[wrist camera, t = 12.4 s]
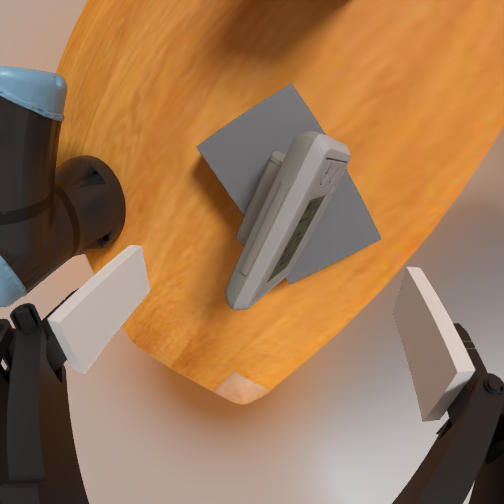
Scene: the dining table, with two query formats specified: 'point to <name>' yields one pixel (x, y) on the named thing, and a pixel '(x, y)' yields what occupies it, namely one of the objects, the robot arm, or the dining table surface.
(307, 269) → the charcoal block
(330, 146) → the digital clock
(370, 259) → the dining table surface
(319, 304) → the dining table surface
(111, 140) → the dining table surface
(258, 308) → the dining table surface
